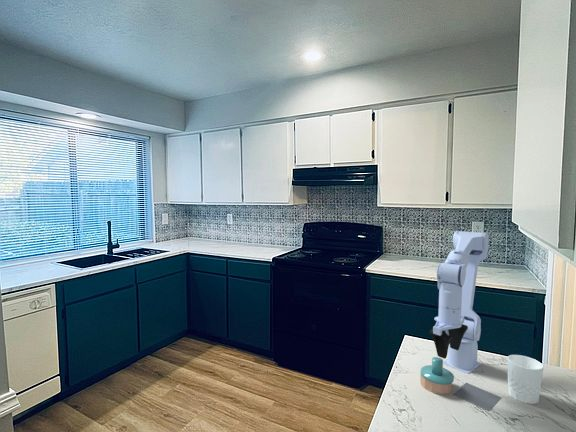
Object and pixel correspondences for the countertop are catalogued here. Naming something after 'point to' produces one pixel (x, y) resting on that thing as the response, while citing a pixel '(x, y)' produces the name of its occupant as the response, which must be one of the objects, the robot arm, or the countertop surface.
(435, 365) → the lid
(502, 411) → the countertop surface
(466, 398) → the mat
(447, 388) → the bowl
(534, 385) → the white cup
